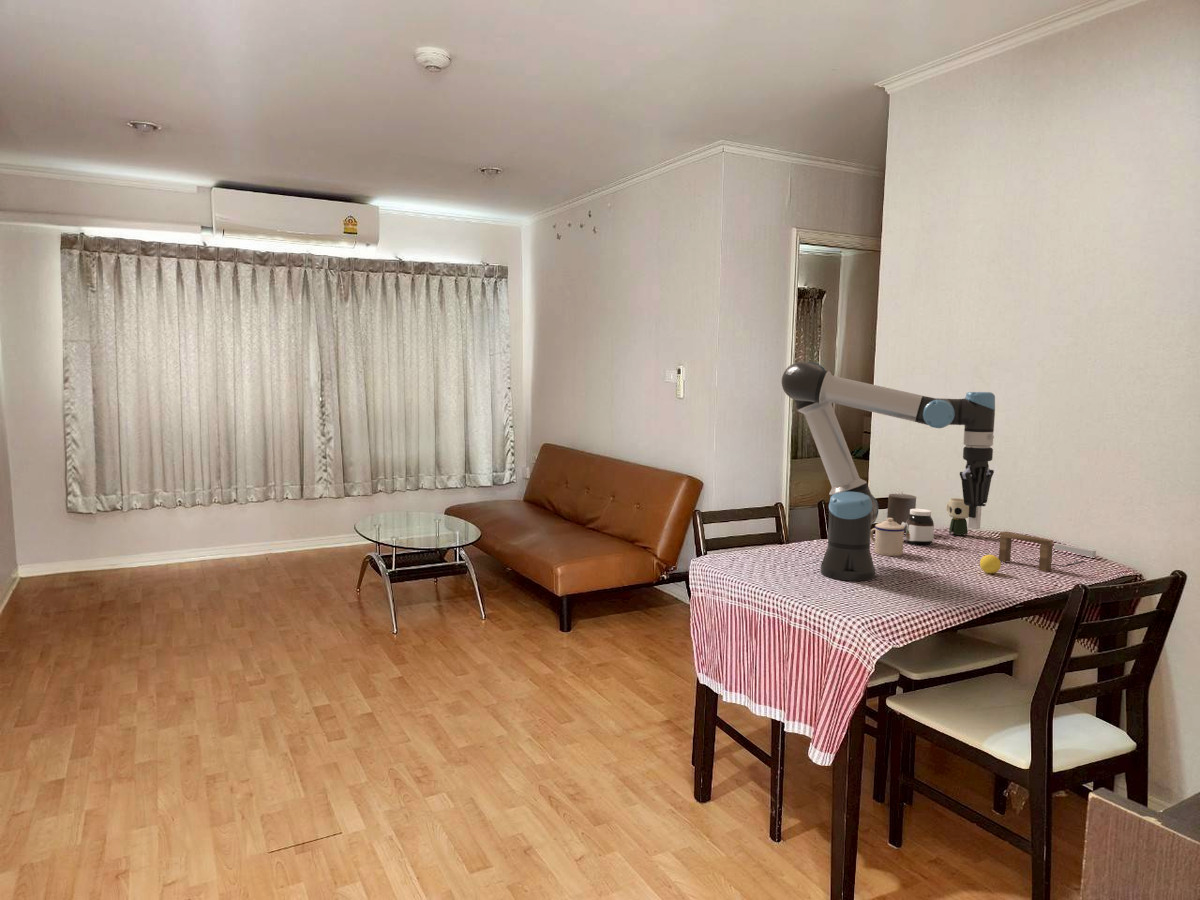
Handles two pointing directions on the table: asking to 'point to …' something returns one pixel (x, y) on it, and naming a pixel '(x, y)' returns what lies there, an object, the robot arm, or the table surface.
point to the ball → (990, 564)
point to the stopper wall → (1075, 550)
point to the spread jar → (919, 527)
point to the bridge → (1045, 544)
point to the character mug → (958, 516)
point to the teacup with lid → (888, 538)
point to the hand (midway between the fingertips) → (974, 528)
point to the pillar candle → (900, 507)
